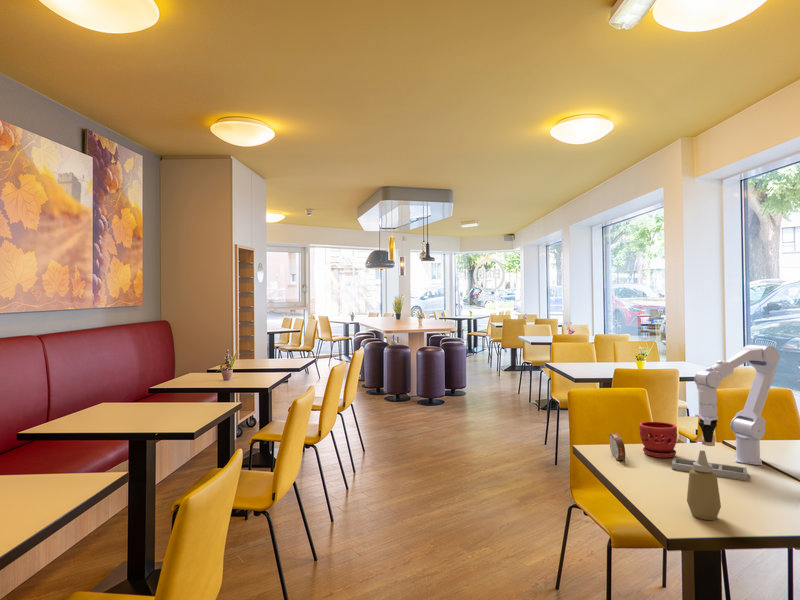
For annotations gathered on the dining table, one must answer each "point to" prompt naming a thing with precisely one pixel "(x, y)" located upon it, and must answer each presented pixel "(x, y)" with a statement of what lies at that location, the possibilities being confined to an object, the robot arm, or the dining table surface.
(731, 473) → the grey compartment tray
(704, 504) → the squeeze bottle
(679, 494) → the dining table surface
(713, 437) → the egg
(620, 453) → the tin
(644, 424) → the plant pot
